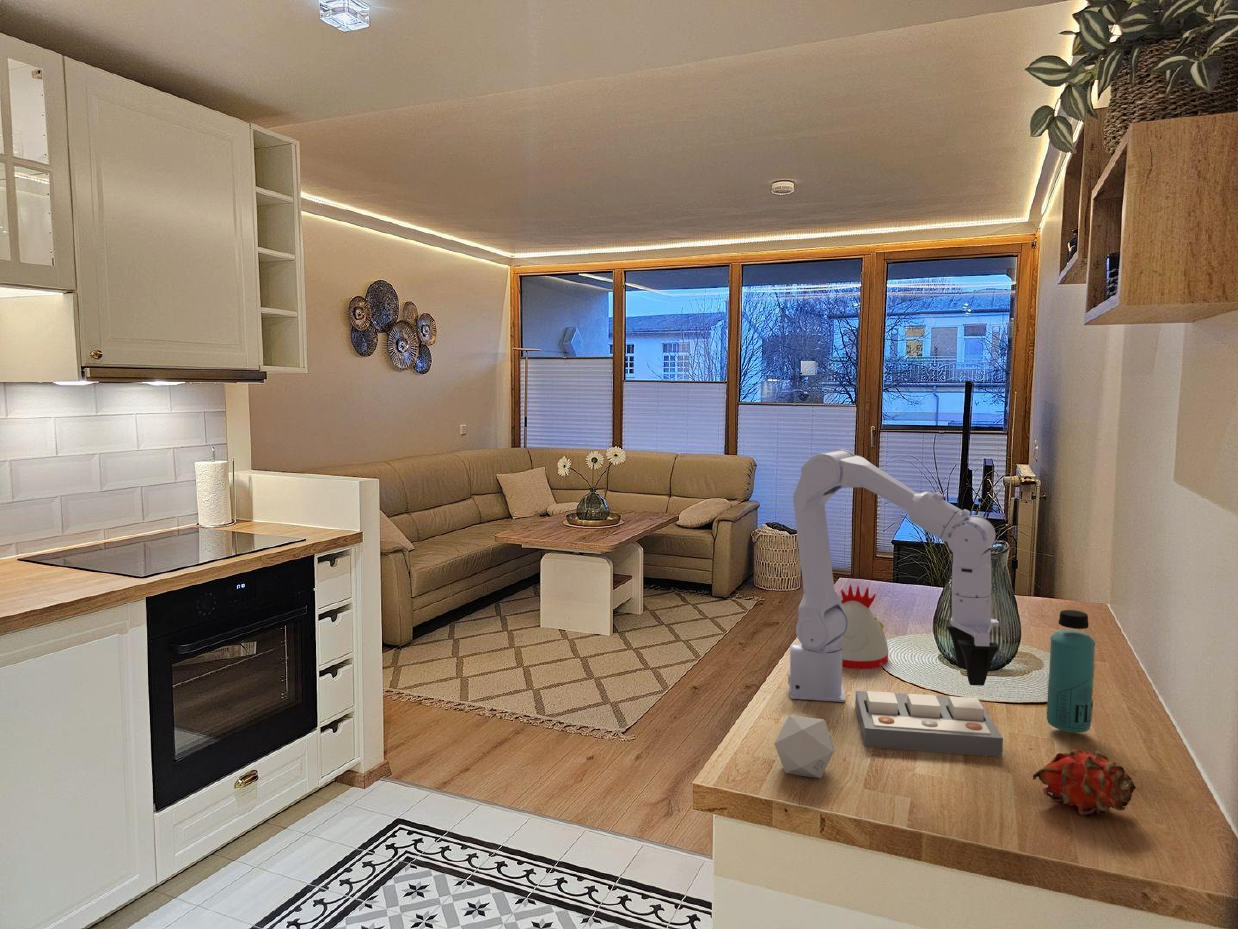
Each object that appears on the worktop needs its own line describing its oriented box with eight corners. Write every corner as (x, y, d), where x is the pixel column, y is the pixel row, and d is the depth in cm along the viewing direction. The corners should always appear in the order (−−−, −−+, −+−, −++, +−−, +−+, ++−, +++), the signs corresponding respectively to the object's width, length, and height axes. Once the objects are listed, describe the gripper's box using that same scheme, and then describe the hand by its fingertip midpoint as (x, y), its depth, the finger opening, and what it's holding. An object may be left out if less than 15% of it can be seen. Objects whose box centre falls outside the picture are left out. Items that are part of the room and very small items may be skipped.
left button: (869, 713, 132) (869, 701, 132) (866, 702, 137) (866, 691, 136) (897, 715, 132) (897, 703, 131) (893, 704, 136) (894, 692, 136)
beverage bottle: (1074, 745, 127) (1081, 620, 124) (1035, 729, 132) (1041, 609, 130) (1100, 736, 130) (1108, 614, 127) (1060, 721, 135) (1067, 604, 133)
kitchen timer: (886, 673, 158) (888, 597, 156) (813, 664, 162) (815, 591, 160) (888, 649, 170) (891, 579, 169) (821, 642, 175) (823, 574, 173)
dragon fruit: (1142, 834, 105) (1038, 826, 111) (1130, 772, 111) (1032, 767, 116) (1142, 801, 100) (1034, 794, 106) (1130, 739, 106) (1028, 735, 112)
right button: (953, 719, 130) (954, 707, 130) (948, 707, 134) (948, 696, 134) (983, 721, 129) (983, 709, 129) (976, 709, 133) (977, 698, 133)
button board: (864, 746, 127) (865, 726, 126) (855, 707, 141) (855, 688, 141) (1002, 757, 123) (1003, 736, 123) (977, 715, 138) (978, 696, 137)
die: (807, 797, 113) (847, 741, 113) (756, 755, 117) (796, 700, 117) (812, 790, 121) (851, 737, 121) (765, 751, 124) (802, 699, 124)
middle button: (911, 716, 131) (911, 704, 131) (906, 705, 135) (907, 693, 135) (940, 718, 130) (940, 706, 130) (934, 707, 135) (935, 695, 134)
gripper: (1011, 606, 122) (1010, 693, 123) (986, 582, 136) (985, 661, 137) (961, 605, 123) (960, 692, 125) (941, 582, 137) (941, 660, 139)
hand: (970, 676), depth 131 cm, fingers open, 7 cm apart
